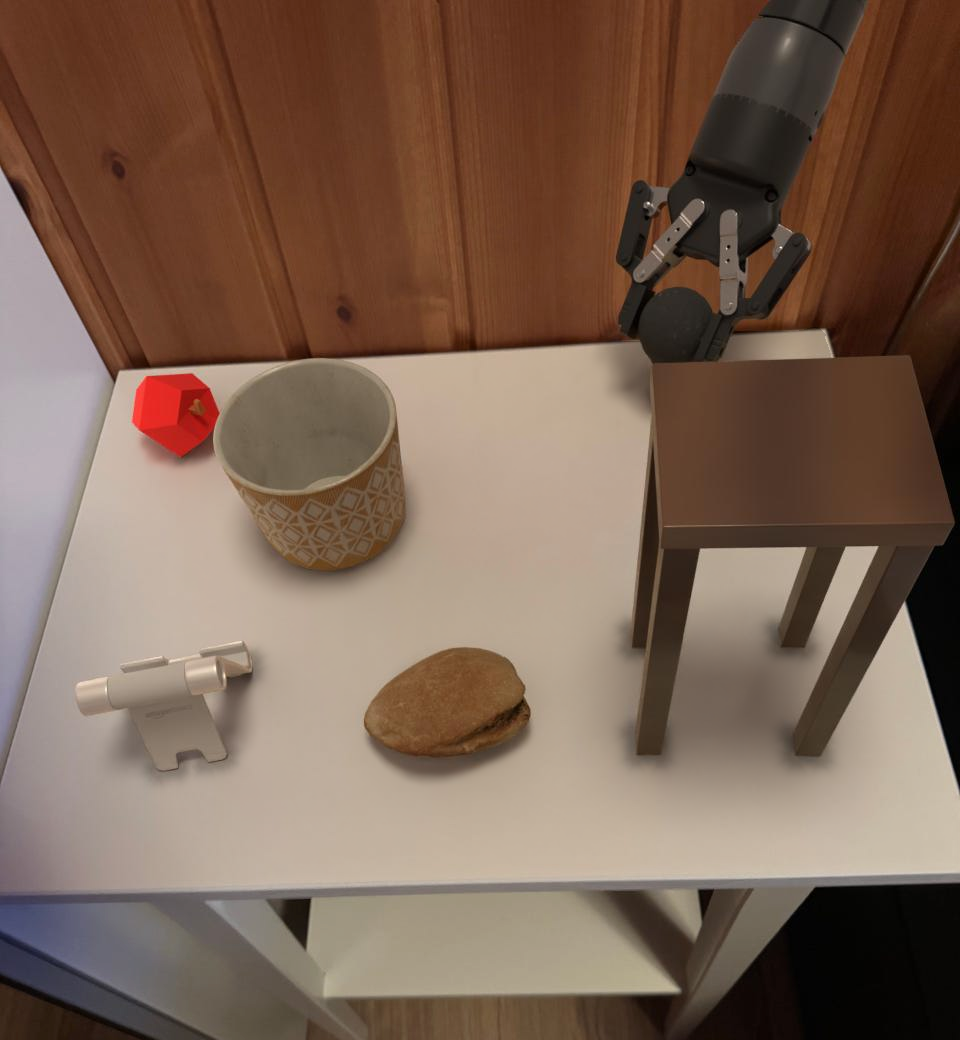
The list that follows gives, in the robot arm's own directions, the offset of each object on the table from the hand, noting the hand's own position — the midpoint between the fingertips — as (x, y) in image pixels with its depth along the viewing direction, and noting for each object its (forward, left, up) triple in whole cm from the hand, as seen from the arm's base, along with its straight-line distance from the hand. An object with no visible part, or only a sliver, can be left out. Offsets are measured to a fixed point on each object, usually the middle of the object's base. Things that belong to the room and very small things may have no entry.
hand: (663, 350), depth 71 cm
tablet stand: (+33, +28, -6) cm, 44 cm away
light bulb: (-1, -1, -6) cm, 7 cm away
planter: (+25, +11, -6) cm, 28 cm away
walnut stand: (-3, +26, -6) cm, 27 cm away
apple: (+39, +2, -6) cm, 40 cm away
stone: (+15, +28, -6) cm, 32 cm away
